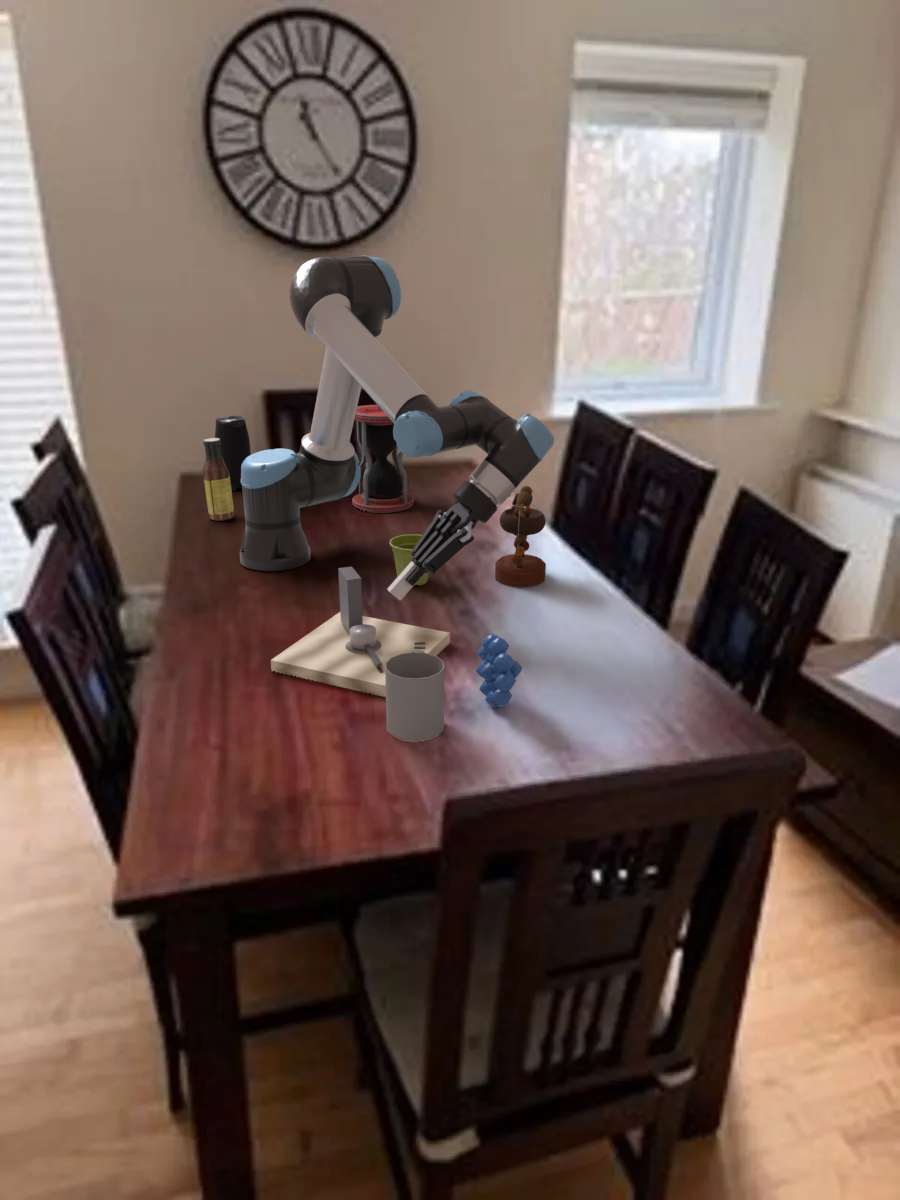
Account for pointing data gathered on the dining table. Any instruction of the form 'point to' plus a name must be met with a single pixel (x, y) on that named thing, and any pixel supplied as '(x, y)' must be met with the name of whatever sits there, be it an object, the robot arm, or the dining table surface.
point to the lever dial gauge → (355, 613)
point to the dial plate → (355, 653)
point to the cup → (414, 696)
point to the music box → (521, 543)
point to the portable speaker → (233, 446)
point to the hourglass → (379, 464)
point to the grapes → (497, 671)
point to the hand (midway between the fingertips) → (393, 594)
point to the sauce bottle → (217, 482)
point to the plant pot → (405, 553)
